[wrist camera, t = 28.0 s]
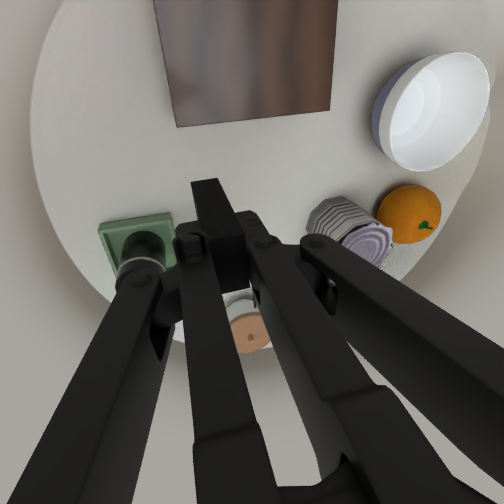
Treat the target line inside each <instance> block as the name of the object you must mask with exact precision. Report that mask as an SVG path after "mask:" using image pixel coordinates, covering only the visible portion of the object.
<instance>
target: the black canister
mask: <svg viewBox="0 0 504 504" xmlns="http://www.w3.org/2000/svg"><path fill="white" fill-rule="evenodd" d="M146 268H148V269H154V270H157V271H158V272H159V274H161V273H163V272H165V271H166V247H165V243H164V241H163V240H162V238H161V237H160V236H159V235H157V234H155V233H153V232H150V231H137V232H134V233H132V234H131V235H129V236H128V237H127V238H126V239H125V241H124V244H123V249H122V254H121V259H120V264H119V269H118V272H117V279H116V284H115V289H116V292H117V291H118V289H119V288H120V286H121V284H122V282H123V280H124V279H125V278H126V276H128V275H129V274H131V273H132V272H134V271H137V270H140V269H146Z"/></svg>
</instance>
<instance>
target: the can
mask: <svg viewBox="0 0 504 504" xmlns="http://www.w3.org/2000/svg"><path fill="white" fill-rule="evenodd" d="M306 230H307V232H308V234H312V233H315V234H316V233H319V234H324V235H327V236H329V237H331V238H332V239H334V240H335V241H337V242H338V243H340V244H342V245H343V246H345V247H346V248H348V249H349V250H351V251H352V252H354V253H356V254H357V255H359V256H360V257H362V258H363V259H365V260H366V261H368V262H370V263H371V264H373V265H374V266H376V267H377V268H378V266H379V265H380V264H381V263H382V261H383V260H384V259H385V257H386V256H387V255H388V254H389V252H390V251H391V250H392V229H391V228H389V227H386V226H384V225H383V224H381V223H380V222H379V221H377V220H376V219H375V218H374V217H372V216H371V215H370V214H368V213H367V212H366V211H364V210H363V209H362V208H360V207H359V206H358V205H357V204H355V203H354V202H352V201H350V200H348V199H346V198H345V197H343V196H340V197H335V198H330V199H326V200H324V201H323V202H322V203H321V204H320V205H319V206H317V207H316V208H315V209H314V210H313V211H312V212H311V214H310V217H309V220H308V223H307V226H306Z"/></svg>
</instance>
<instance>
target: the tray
mask: <svg viewBox="0 0 504 504" xmlns="http://www.w3.org/2000/svg"><path fill="white" fill-rule="evenodd" d="M137 231H150V232H153V233H155V234H157V235H159V236H160V237H161V238H162V240H163V241H164V243H165V247H166V271H167V270H169V269H171V268H172V267H173V266H174V265H175V264H176V263H177V260H176V256H175V252H174V248H173V244H172V241H173V239H174V238H175V237H176V236H175V232H174V227H173V223H172V219H171V214H170V213H165V214H158V215H152V216H146V217H139V218H133V219H127V220H120V221H114V222H107V223H101V224H100V226H99V229H98V233H99V236H100V238H101V241H102V243H103V246H104V249H105V251H106V254H107V256H108V259H109V261H110V264H111V266H112V269H113V272H114V274H115V277H116V279H117V272H118V269H119V264H120V259H121V254H122V249H123V244H124V241H125V239H126V238H127V237H128V236H129V235H131V234H132V233H134V232H137Z"/></svg>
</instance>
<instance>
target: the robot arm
mask: <svg viewBox="0 0 504 504" xmlns="http://www.w3.org/2000/svg"><path fill="white" fill-rule="evenodd" d="M191 187H192V192H193V197H194V203H195V208H196V213H197V218H198V220H197V221H192V222H186V223H181V224H179V225H178V226H177V228H176V229H175V232H176V237H175V238H174V239H173V241H172V244H173V248H174V252H175V256H176V260H177V263H176V264H175V265H174V266H173V267H172V268H171V269H169V270H167V271H165V272H163V273H161V274H159V272H158V271H157V270H154V269H148V268H146V269H140V270H137V271H134V272H132V273H131V274H129V275H128V276H126V278H125V279H124V280H123V282H122V284H121V286H120V288H119V289H118V291H117V293H116V295H115V297H114V299H113V301H112V303H111V305H110V307H109V309H108V311H107V313H106V314H105V316H104V318H103V320H102V322H101V324H100V326H99V328H98V330H97V332H96V334H95V335H94V337H93V339H92V341H91V343H90V345H89V347H88V349H87V351H86V353H85V355H84V357H83V359H82V360H81V362H80V364H79V366H78V368H77V370H76V372H75V374H74V376H73V378H72V380H71V382H70V383H69V385H68V387H67V389H66V391H65V393H64V395H63V397H62V399H61V401H60V403H59V405H58V406H57V408H56V410H55V412H54V414H53V416H52V418H51V420H50V422H49V424H48V425H47V427H46V430H45V431H44V433H43V435H42V437H41V439H40V441H39V443H38V445H37V447H36V449H35V450H34V452H33V455H32V456H31V458H30V460H29V462H28V464H27V466H26V468H25V470H24V471H23V474H22V475H21V477H20V479H19V481H18V483H17V485H16V487H15V489H14V491H13V493H12V494H11V496H10V498H9V500H8V502H7V504H132V500H133V496H134V492H135V488H136V484H137V480H138V475H139V471H140V467H141V463H142V459H143V456H144V451H145V447H146V443H147V439H148V435H149V431H150V427H151V423H152V419H153V415H154V411H155V407H156V403H157V399H158V395H159V391H160V387H161V383H162V379H163V375H164V371H165V367H166V363H167V359H168V355H169V351H170V346H171V343H172V339H173V335H174V331H175V323H177V322H179V321H181V320H183V328H184V337H185V346H186V357H187V366H188V377H189V387H190V396H191V406H192V416H193V426H194V437H195V438H194V444H193V463H194V464H193V465H194V476H195V487H196V498H197V504H497V503H495V502H494V501H492V500H490V499H489V498H487V497H486V496H484V495H482V494H481V493H479V492H478V491H476V490H475V489H473V488H471V487H470V486H468V485H467V484H465V483H463V482H462V481H460V480H459V479H457V478H455V477H454V476H453V475H452V474H451V473H450V471H449V470H448V468H447V467H446V465H445V464H444V463H443V461H442V460H441V458H440V457H439V456H438V454H437V453H436V451H435V450H434V448H433V447H432V446H431V444H430V443H429V441H428V440H427V438H426V437H425V436H424V434H423V433H422V431H421V430H420V428H419V427H418V426H417V424H416V423H415V421H414V420H413V418H412V417H411V415H410V414H409V413H408V411H407V410H406V408H405V407H404V405H403V404H402V403H401V401H400V400H399V398H398V397H397V396H396V395H395V394H394V392H393V391H392V390H391V389H390V388H388V387H387V386H385V385H377V384H375V383H374V382H373V381H372V379H371V378H370V377H369V375H368V374H367V372H366V371H365V369H364V368H363V366H362V364H361V363H360V361H359V360H358V358H357V357H356V355H355V354H354V352H353V351H352V349H351V348H350V346H349V345H348V343H349V344H350V345H351V346H352V347H353V348H354V349H356V350H357V351H358V352H359V353H360V354H361V355H362V356H363V357H364V358H365V359H366V360H367V361H368V362H369V363H370V364H371V365H372V366H373V367H374V368H375V369H376V370H377V371H378V372H379V373H381V374H382V375H383V377H385V378H386V379H387V380H388V381H389V382H390V383H391V384H392V385H393V386H394V387H395V388H396V389H397V390H398V391H399V392H400V393H401V394H402V395H403V396H404V397H405V398H406V399H408V401H409V402H410V403H411V404H412V405H413V406H415V407H416V408H417V409H418V410H419V411H420V412H421V413H422V414H423V415H424V416H425V417H426V418H427V419H428V420H429V421H430V422H431V423H432V424H433V425H434V426H435V427H436V428H437V429H439V431H440V432H441V433H443V434H444V435H445V436H446V437H447V438H448V439H449V440H450V441H451V442H452V443H453V444H454V445H455V446H456V447H457V448H458V449H459V450H460V451H461V452H462V453H464V454H465V455H466V456H467V457H468V458H469V459H470V460H471V461H472V462H474V463H475V464H476V465H477V466H478V467H479V468H480V469H482V470H483V471H484V472H485V473H487V474H488V475H489V476H491V477H492V478H493V479H494V480H496V481H497V482H498V483H500V484H501V485H502V486H504V348H502V347H500V346H499V345H497V344H496V343H494V342H493V341H491V340H490V339H488V338H486V337H485V336H483V335H482V334H480V333H479V332H477V331H475V330H474V329H472V328H471V327H469V326H468V325H466V324H465V323H463V322H461V321H460V320H458V319H457V318H455V317H454V316H452V315H451V314H449V313H447V312H446V311H444V310H443V309H441V308H440V307H438V306H437V305H435V304H433V303H432V302H430V301H429V300H427V299H426V298H424V297H423V296H421V295H419V294H418V293H416V292H414V291H413V290H412V289H410V288H409V287H407V286H405V285H404V284H402V283H401V282H399V281H398V280H396V279H395V278H393V277H391V276H390V275H388V274H387V273H385V272H384V271H382V270H380V269H379V268H377V267H376V266H374V265H373V264H371V263H370V262H368V261H366V260H365V259H363V258H362V257H360V256H359V255H357V254H356V253H354V252H352V251H351V250H349V249H348V248H346V247H345V246H343V245H342V244H340V243H338V242H337V241H335V240H334V239H332V238H331V237H329V236H327V235H324V234H319V233H316V234H315V233H312V234H308V235H305V236H303V237H302V238H301V240H300V245H286V244H282V243H281V241H280V240H279V239H278V238H277V237H275V236H273V235H270V234H269V233H268V231H267V229H266V228H265V226H264V225H263V224H262V222H261V220H260V218H259V217H258V215H257V214H256V213H254V212H252V211H250V210H248V211H243V212H237V213H234V211H233V209H232V207H231V205H230V203H229V201H228V199H227V197H226V194H225V192H224V190H223V188H222V186H221V184H220V182H219V180H218V178H213V179H206V180H200V181H194V182H191ZM249 280H250V282H251V284H252V292H253V302H254V308H257V307H258V309H259V312H260V315H261V317H262V320H263V322H264V325H265V327H266V330H267V332H268V335H269V337H270V340H271V342H272V345H273V347H274V350H275V352H276V355H277V358H278V360H279V362H280V365H281V368H282V370H283V373H284V375H285V378H286V380H287V383H288V385H289V388H290V391H291V393H292V395H293V398H294V400H295V403H296V406H297V408H298V411H299V413H300V416H301V418H302V421H303V423H304V426H305V428H306V431H307V434H308V436H309V439H310V441H311V444H312V446H313V449H314V452H315V454H316V458H317V462H318V467H319V471H320V476H321V479H322V481H321V482H320V483H318V484H316V485H313V486H281V487H277V484H276V481H275V477H274V473H273V470H272V467H271V463H270V459H269V456H268V452H267V449H266V445H265V441H264V438H263V435H262V432H261V429H260V426H259V424H258V423H257V420H256V417H255V414H254V410H253V407H252V403H251V399H250V396H249V392H248V388H247V385H246V381H245V377H244V374H243V370H242V366H241V363H240V359H239V356H238V352H237V348H236V345H235V341H234V337H233V334H232V330H231V326H230V323H229V319H228V316H227V312H226V308H225V305H224V301H223V297H222V294H224V293H229V292H233V291H237V290H242V289H246V288H250V282H249ZM330 280H332V281H333V282H334V283H335V285H334V284H333V283H332V282H330ZM256 304H257V306H256ZM346 341H347V342H348V343H347V342H346Z"/></svg>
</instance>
